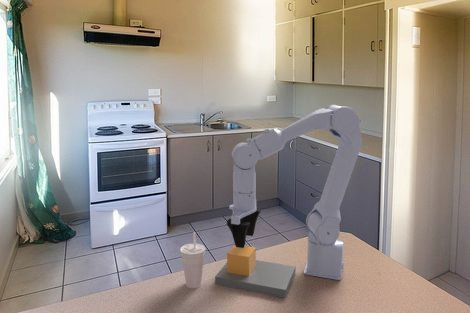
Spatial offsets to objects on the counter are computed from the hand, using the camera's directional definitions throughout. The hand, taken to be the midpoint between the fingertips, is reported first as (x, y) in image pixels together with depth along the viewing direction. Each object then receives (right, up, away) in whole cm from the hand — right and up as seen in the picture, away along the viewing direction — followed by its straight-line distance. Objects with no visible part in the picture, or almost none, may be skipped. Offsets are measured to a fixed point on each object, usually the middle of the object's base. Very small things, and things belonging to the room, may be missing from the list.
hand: (244, 240), depth 96 cm
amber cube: (-1, -7, 0) cm, 7 cm away
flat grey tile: (+3, -10, -1) cm, 10 cm away
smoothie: (-13, -10, -3) cm, 17 cm away
